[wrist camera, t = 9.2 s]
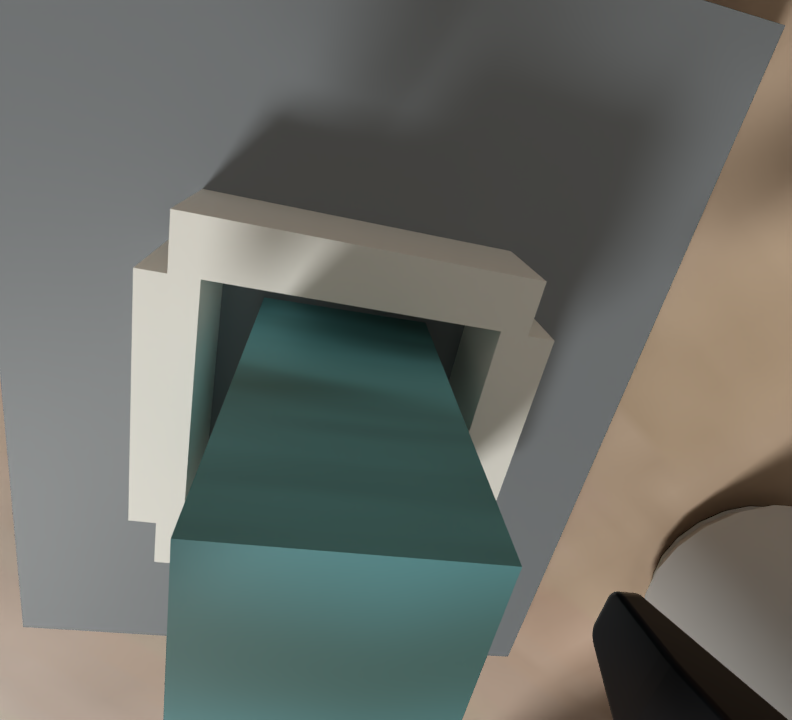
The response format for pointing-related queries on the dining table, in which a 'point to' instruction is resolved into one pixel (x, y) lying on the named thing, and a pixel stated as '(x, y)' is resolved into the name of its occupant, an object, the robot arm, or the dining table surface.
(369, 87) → the holder
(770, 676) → the can
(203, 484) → the peg
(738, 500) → the dining table surface
